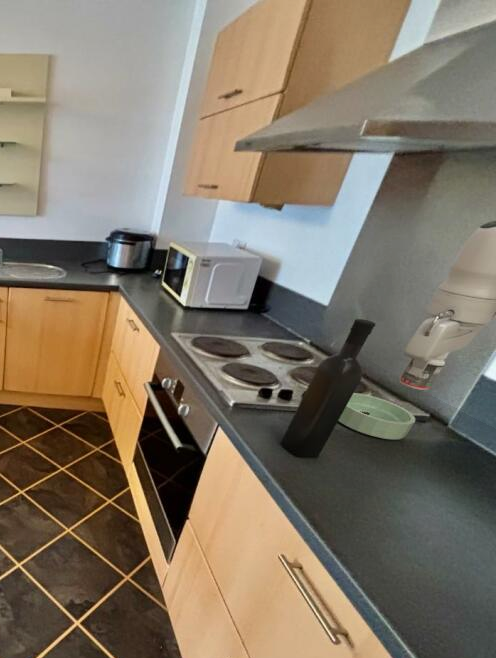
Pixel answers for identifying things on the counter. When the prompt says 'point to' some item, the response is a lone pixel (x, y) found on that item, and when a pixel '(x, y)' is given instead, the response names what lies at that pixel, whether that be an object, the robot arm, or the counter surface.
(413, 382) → the pill bottle
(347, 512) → the counter surface
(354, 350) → the wine bottle
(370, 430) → the bowl
